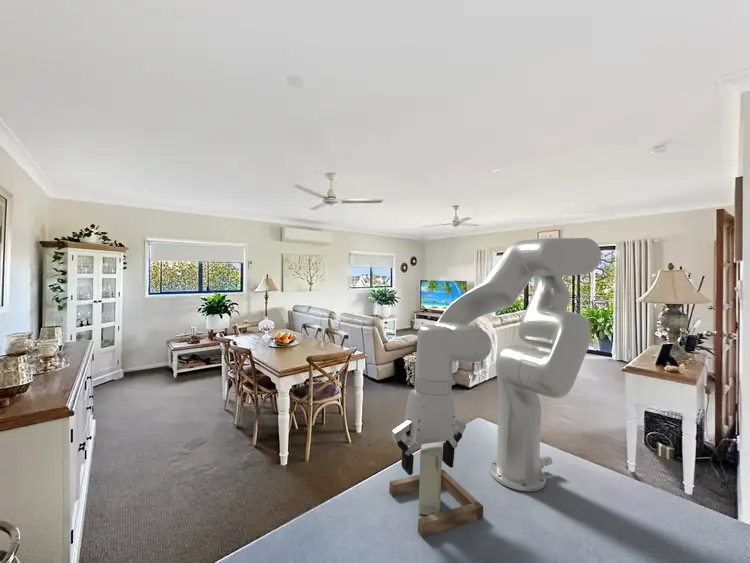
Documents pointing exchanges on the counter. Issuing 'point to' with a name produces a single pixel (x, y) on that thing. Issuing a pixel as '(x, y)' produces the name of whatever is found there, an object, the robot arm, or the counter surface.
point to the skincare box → (430, 478)
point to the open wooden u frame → (448, 518)
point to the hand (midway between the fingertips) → (427, 467)
